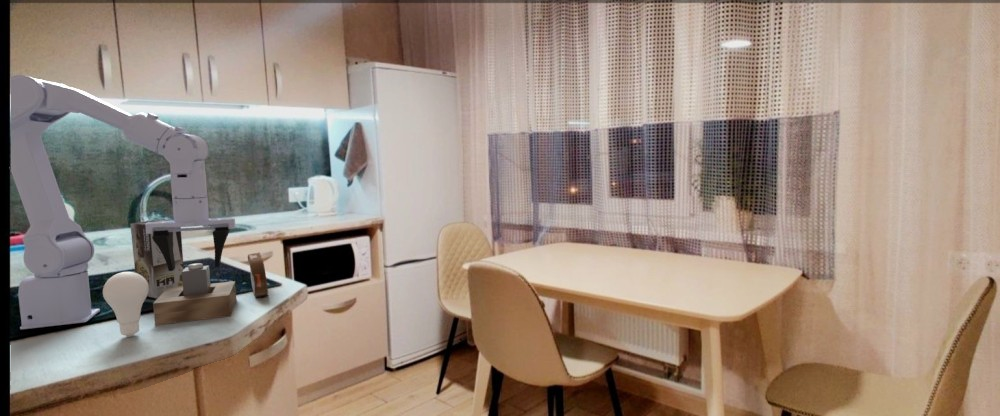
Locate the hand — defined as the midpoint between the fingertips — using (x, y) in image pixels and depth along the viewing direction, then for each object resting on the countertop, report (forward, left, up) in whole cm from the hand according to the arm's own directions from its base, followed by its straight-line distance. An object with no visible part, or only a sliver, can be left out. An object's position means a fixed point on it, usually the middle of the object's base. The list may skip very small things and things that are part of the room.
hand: (195, 268), depth 97 cm
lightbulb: (-8, -11, -9) cm, 16 cm away
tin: (+10, +11, -9) cm, 17 cm away
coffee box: (-10, +20, -9) cm, 24 cm away
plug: (0, 0, -7) cm, 7 cm away
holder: (0, 0, -9) cm, 9 cm away
